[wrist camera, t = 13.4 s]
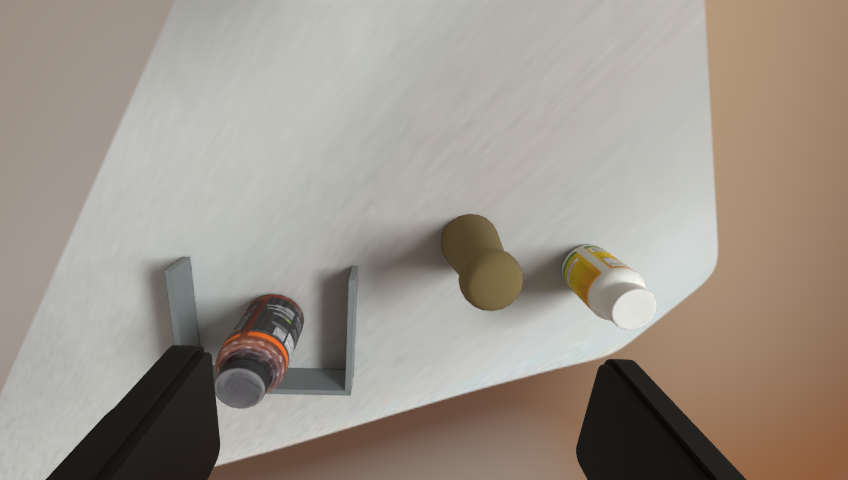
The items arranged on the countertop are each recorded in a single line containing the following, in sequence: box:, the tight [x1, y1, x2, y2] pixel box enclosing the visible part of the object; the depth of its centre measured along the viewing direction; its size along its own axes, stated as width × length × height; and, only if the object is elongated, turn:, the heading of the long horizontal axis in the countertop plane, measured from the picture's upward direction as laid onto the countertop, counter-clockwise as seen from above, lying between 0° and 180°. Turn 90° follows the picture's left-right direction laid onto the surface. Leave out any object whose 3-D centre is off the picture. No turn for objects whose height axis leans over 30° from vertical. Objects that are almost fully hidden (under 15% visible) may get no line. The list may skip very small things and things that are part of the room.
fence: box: [165, 257, 358, 395], centre depth 40 cm, size 14×17×4 cm
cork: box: [441, 214, 523, 311], centre depth 36 cm, size 6×6×11 cm
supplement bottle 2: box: [562, 245, 656, 330], centre depth 38 cm, size 5×5×10 cm
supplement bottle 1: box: [214, 295, 304, 409], centre depth 37 cm, size 6×6×11 cm
